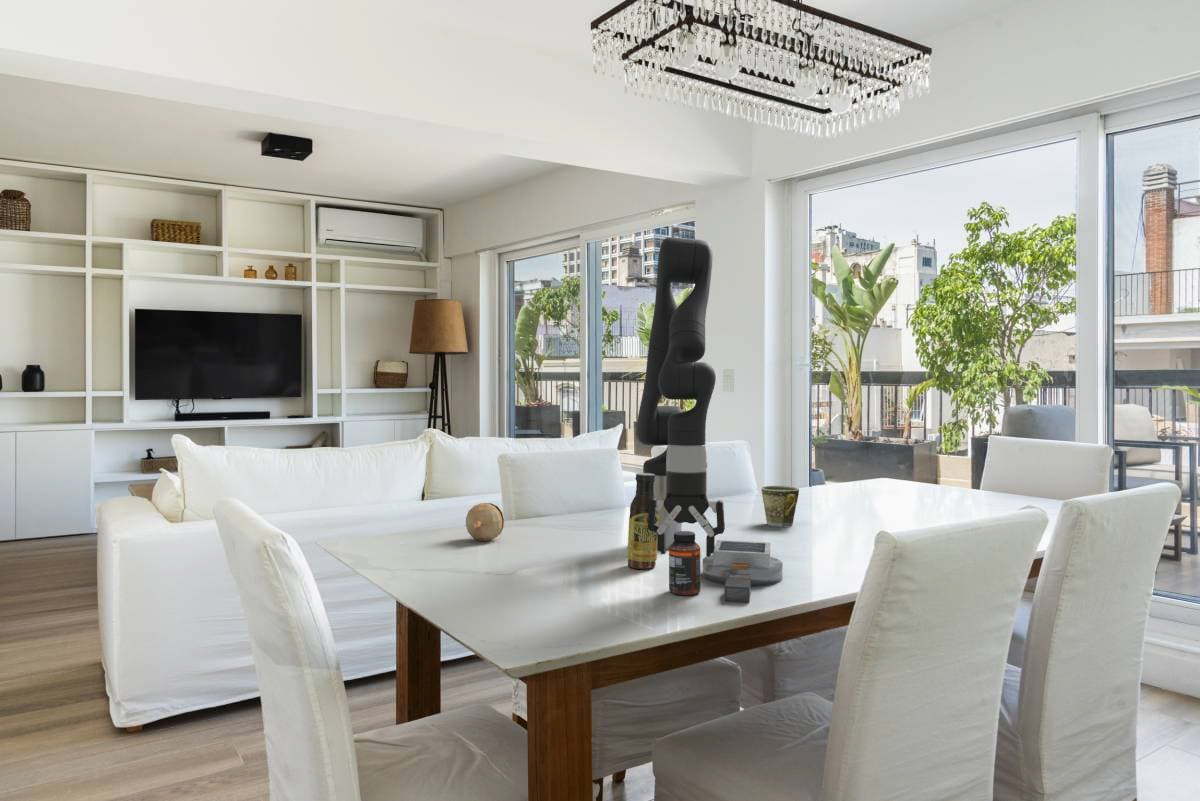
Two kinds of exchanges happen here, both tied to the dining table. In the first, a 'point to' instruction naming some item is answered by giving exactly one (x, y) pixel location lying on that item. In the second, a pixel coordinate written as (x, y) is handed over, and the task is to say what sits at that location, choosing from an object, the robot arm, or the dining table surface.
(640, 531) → the sauce bottle
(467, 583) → the dining table surface
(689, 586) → the supplement bottle
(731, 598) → the grey platform stand
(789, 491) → the ceramic cup
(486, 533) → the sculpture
